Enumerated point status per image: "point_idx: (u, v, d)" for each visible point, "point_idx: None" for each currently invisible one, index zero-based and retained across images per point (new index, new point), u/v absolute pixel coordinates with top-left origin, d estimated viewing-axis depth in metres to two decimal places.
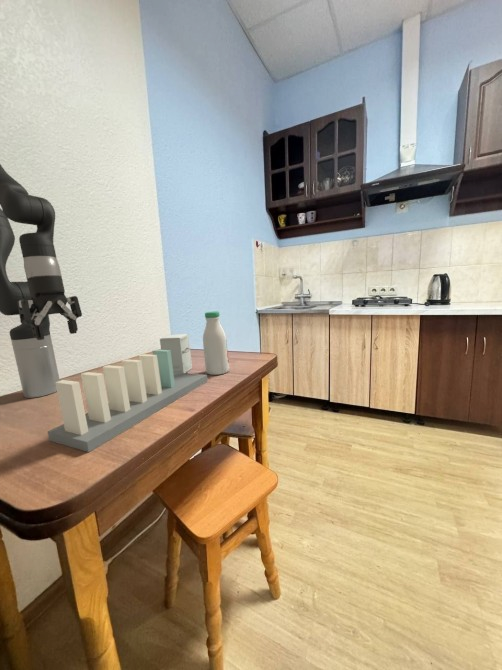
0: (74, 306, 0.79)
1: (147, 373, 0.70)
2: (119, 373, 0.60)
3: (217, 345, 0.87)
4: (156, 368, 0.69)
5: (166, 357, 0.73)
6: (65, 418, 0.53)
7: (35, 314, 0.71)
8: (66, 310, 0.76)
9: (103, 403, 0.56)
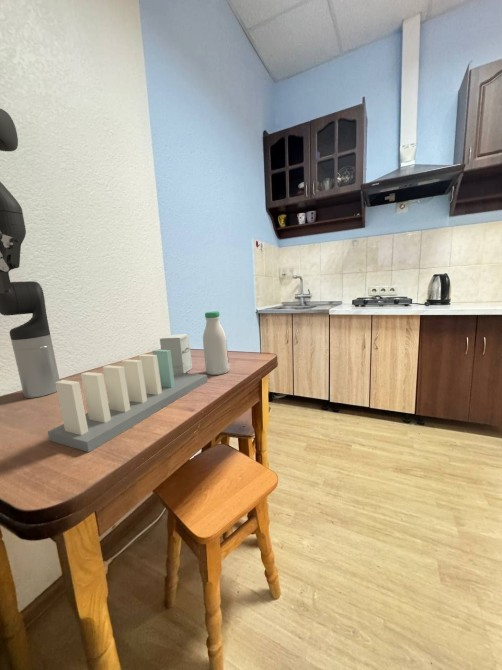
0: (11, 251, 0.52)
1: (147, 373, 0.70)
2: (119, 373, 0.60)
3: (217, 345, 0.87)
4: (156, 368, 0.69)
5: (166, 357, 0.73)
6: (65, 418, 0.53)
7: None
8: None
9: (103, 403, 0.56)
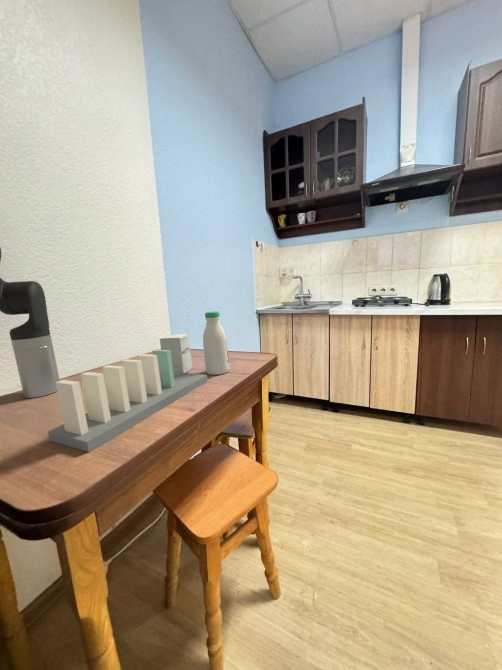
0: None
1: (147, 373, 0.70)
2: (119, 373, 0.60)
3: (217, 345, 0.87)
4: (156, 368, 0.69)
5: (166, 357, 0.73)
6: (65, 418, 0.53)
7: None
8: None
9: (103, 403, 0.56)
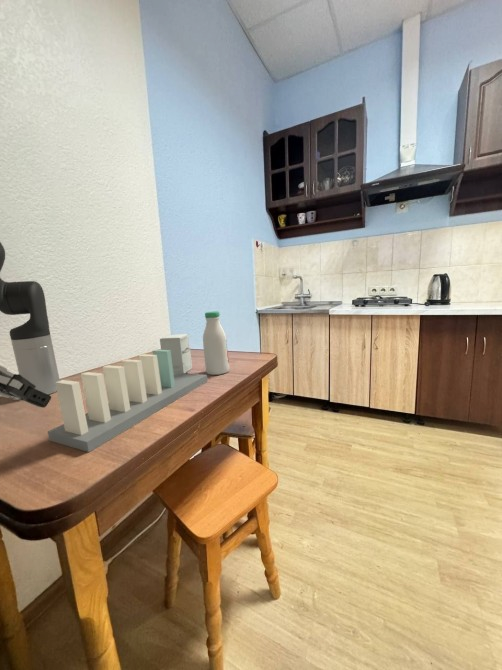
0: None
1: (147, 373, 0.70)
2: (119, 373, 0.60)
3: (217, 345, 0.87)
4: (156, 368, 0.69)
5: (166, 357, 0.73)
6: (65, 418, 0.53)
7: None
8: None
9: (103, 403, 0.56)
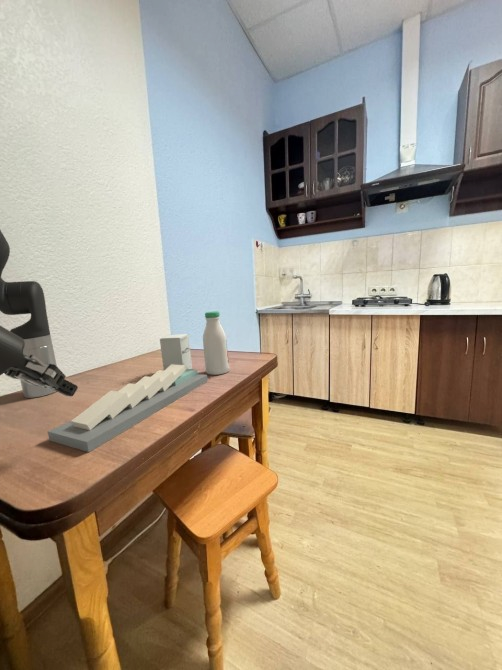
0: None
1: None
2: (156, 380, 0.69)
3: (217, 345, 0.87)
4: (178, 373, 0.77)
5: (192, 371, 0.83)
6: (86, 412, 0.57)
7: None
8: (33, 383, 0.46)
9: (124, 402, 0.61)
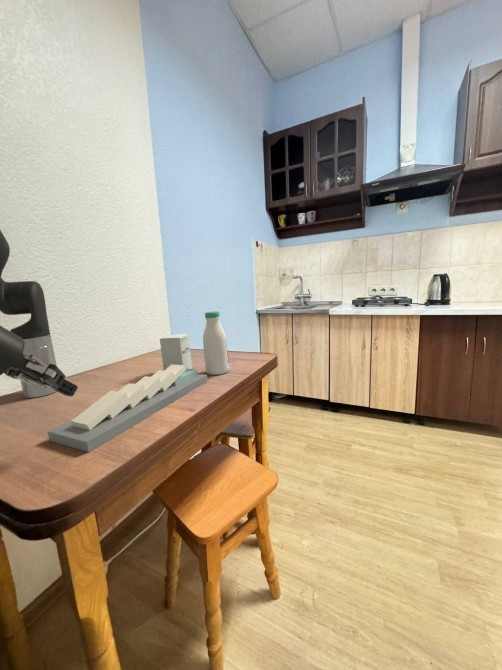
0: None
1: None
2: (156, 380, 0.69)
3: (217, 345, 0.87)
4: (178, 373, 0.77)
5: (192, 371, 0.83)
6: (86, 412, 0.57)
7: None
8: (33, 383, 0.46)
9: (124, 402, 0.61)
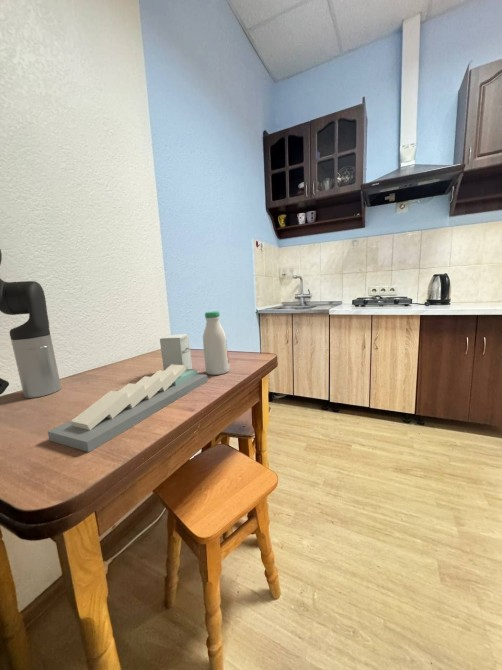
0: None
1: None
2: (156, 380, 0.69)
3: (217, 345, 0.87)
4: (178, 373, 0.77)
5: (192, 371, 0.83)
6: (86, 412, 0.57)
7: None
8: None
9: (124, 402, 0.61)
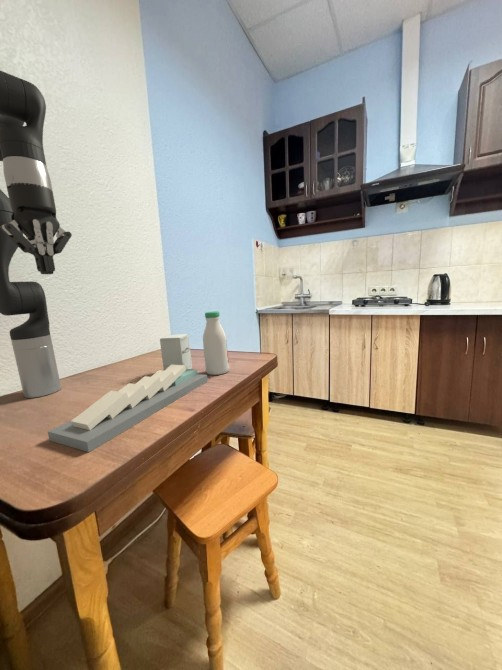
0: (59, 240, 0.62)
1: None
2: (156, 380, 0.69)
3: (217, 345, 0.87)
4: (178, 373, 0.77)
5: (192, 371, 0.83)
6: (86, 412, 0.57)
7: (31, 242, 0.58)
8: (49, 237, 0.59)
9: (124, 402, 0.61)
